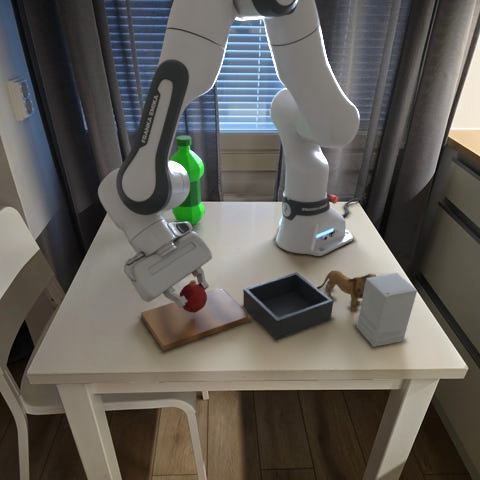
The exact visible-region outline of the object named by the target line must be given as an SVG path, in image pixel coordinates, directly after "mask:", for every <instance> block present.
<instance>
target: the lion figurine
mask: <svg viewBox="0 0 480 480" xmlns="http://www.w3.org/2000/svg"><path fill="white" fill-rule="evenodd" d="M376 276H377V274H375V273H367V274H365V275H363V276H356V277H353V278H351V277H348V276H347V275H345V274H344V273H343V272H341V271H340V270H334V269H333V270H331V271H329V272H328V273H327V275H326V276H325V279H324V281H323V283H322V284H321V285H318V286H316V288H318V289H319V290H321V289H322V288H324V286H325V285H326V286H325V290H327V296H328V297H329V298H331V299H332V300H333V301H334V296H332V291H333V289H334V287H335V286H337V287H338V289H339V290H340V291H341V292H342V293H344V294H347V295H349V296H350V310H351V311H353V312H354V311H356V310H357V306H358V305H361V302H360V299H361V300H362V298H363V293H364V287H365V282H366V278H370V277H376ZM356 305H357V306H356Z"/></svg>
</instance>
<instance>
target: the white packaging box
mask: <svg viewBox="0 0 480 480" xmlns="http://www.w3.org/2000/svg"><path fill="white" fill-rule="evenodd" d="M417 292H418V290H417V289H416V288H415V287H414V286H413V285H411V283H409V282H408V281H407V280H406V279H405V278H404V277H402V276H401V275H400V274H399V273H398V272H393V273H386V274H382V275H381V274H380V275H376V277H370V278H366V282H365V287H364V293H363V298H362V299H361V302H360V308H359V312H358V313H359V314H358V317H357V324H356V328H357V329H358V331H359V332H360V333H361V335H362V336H364V337H365V339H366V340H367V342H369V343H370V345H371V346H372V348H374V347H380V346H385V345H390V344H396V343H400V342H403V341H404V340H405V335H406V332H407V328H408V325H409V321H410V318H411V314H412V310H413V308H414V304H415V299H416V297H417Z"/></svg>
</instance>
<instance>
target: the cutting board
mask: <svg viewBox="0 0 480 480" xmlns="http://www.w3.org/2000/svg"><path fill="white" fill-rule="evenodd" d="M205 292H206V295H207V302H206V304H205V306H204V307H203V308H202V309H201V310H199V311H197V312H195V313H193V312H188V311H186V310H184V308H183V307H181V308H180V307H179V306H178V305H177V304H176V302H174V301H172V302H170V303H167V304H164V305H160V306H157V307H154V308H150V309H147V310H144V311H141V312H140V316H141V320H142V321H143V322H144V324H145V325H146V327H147V329H148V330H149V331H150V333H151V334H152V335H153V337H154V338H155V340H156V342H157V343H158V345H159V346H160V348H161V349H162V350H163V352H166V351H169V350H172V349H175V348H177V347H181V346H183V345H187V344H189V343H192V342H195V341H198V340H199V339H203V338H206V337H208V336H211V335H214V334H217V333H220V332H222V331H225V330H228V329H231V328H234V327H237V326H240V325H242V324H245V323H248V322H249V320H250V319H249V315H248V314H247V312H245V311H244V309H242V307H240V306H239V305H238V304H237V303H236V302H235V300H234V299H233V298H231V297H230V296H229V295H228V293H226V291H225V290H223V288H221V287H218V288H215V289H212V290H209V291H205Z"/></svg>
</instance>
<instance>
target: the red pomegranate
mask: <svg viewBox="0 0 480 480" xmlns="http://www.w3.org/2000/svg"><path fill="white" fill-rule="evenodd" d="M205 290H206V289H205ZM205 290H204V289H203V288H202V287H201V286H200V285H198V283H197V281H196V280H190V282H189V283H188V284H186V285H184V286H183V287H182V289H181V291H180V292H179V296H181V297H182V296H183V295H184V296H185V298H186V299H187V300H188V303H187V304H186V305H184V306H183V308H184V310H186V311H188V312H193V313H195V312H197V311H199V310H201V309H202V308H203V307H204V306H205V304H206V302H207V295H206V292H207V291H205Z"/></svg>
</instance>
